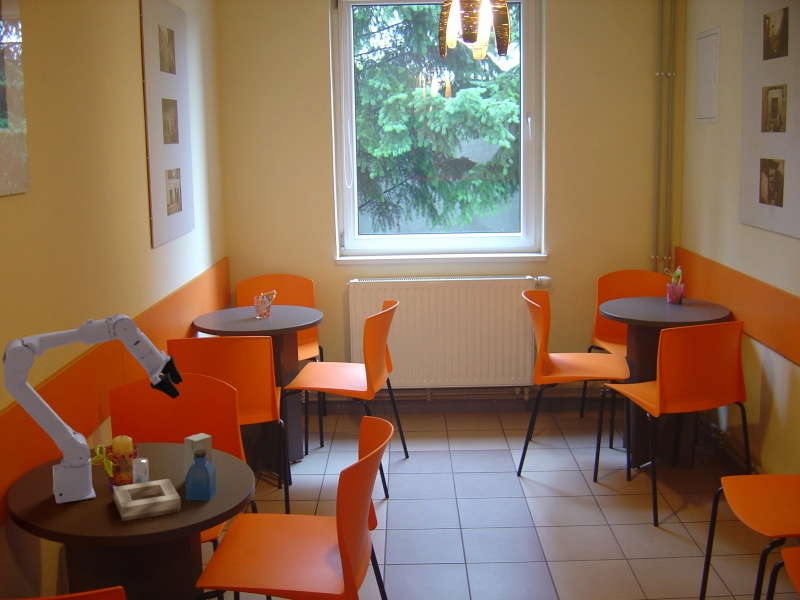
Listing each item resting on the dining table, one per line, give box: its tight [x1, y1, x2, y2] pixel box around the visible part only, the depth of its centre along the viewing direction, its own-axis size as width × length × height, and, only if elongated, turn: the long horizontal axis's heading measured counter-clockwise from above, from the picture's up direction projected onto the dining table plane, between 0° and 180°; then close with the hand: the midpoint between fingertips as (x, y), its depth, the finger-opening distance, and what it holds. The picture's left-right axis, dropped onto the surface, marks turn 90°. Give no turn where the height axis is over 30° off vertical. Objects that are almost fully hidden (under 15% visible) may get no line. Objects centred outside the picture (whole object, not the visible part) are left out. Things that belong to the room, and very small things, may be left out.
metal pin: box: [131, 457, 150, 484], centre depth 228 cm, size 4×4×7 cm
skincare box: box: [184, 432, 213, 481], centre depth 232 cm, size 6×4×12 cm
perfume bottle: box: [185, 449, 217, 501], centre depth 222 cm, size 6×6×12 cm
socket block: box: [112, 478, 182, 522], centre depth 215 cm, size 14×14×4 cm
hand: (178, 389), depth 229 cm, fingers open, 7 cm apart
